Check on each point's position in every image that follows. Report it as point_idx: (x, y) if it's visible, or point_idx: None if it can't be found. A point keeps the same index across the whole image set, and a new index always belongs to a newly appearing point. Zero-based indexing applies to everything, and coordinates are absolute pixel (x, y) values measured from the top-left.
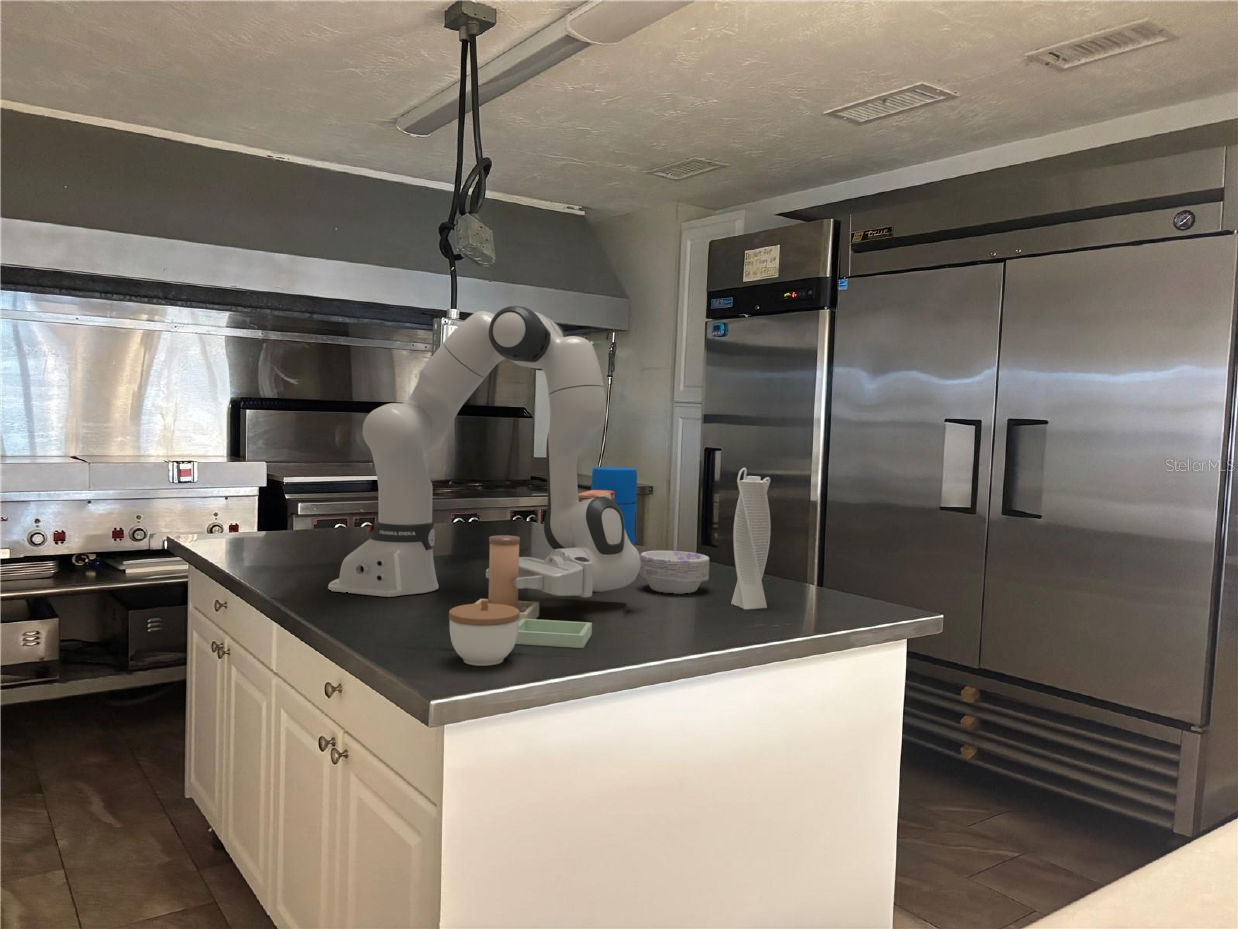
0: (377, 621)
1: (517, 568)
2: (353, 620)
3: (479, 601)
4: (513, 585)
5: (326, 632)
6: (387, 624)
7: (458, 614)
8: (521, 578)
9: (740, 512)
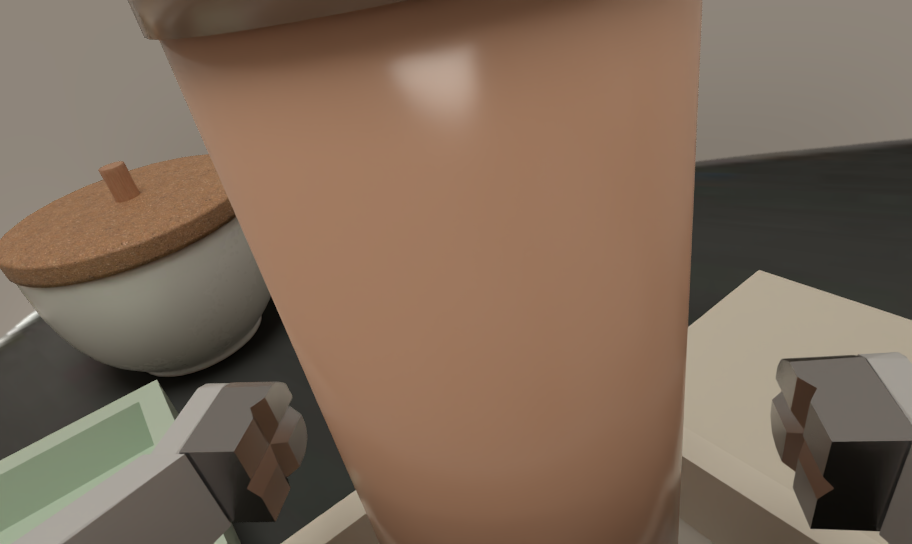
0: (873, 245)
1: (319, 405)
2: (907, 205)
3: (795, 512)
4: (299, 425)
5: (734, 163)
6: (804, 258)
7: (176, 159)
8: (186, 407)
9: None
